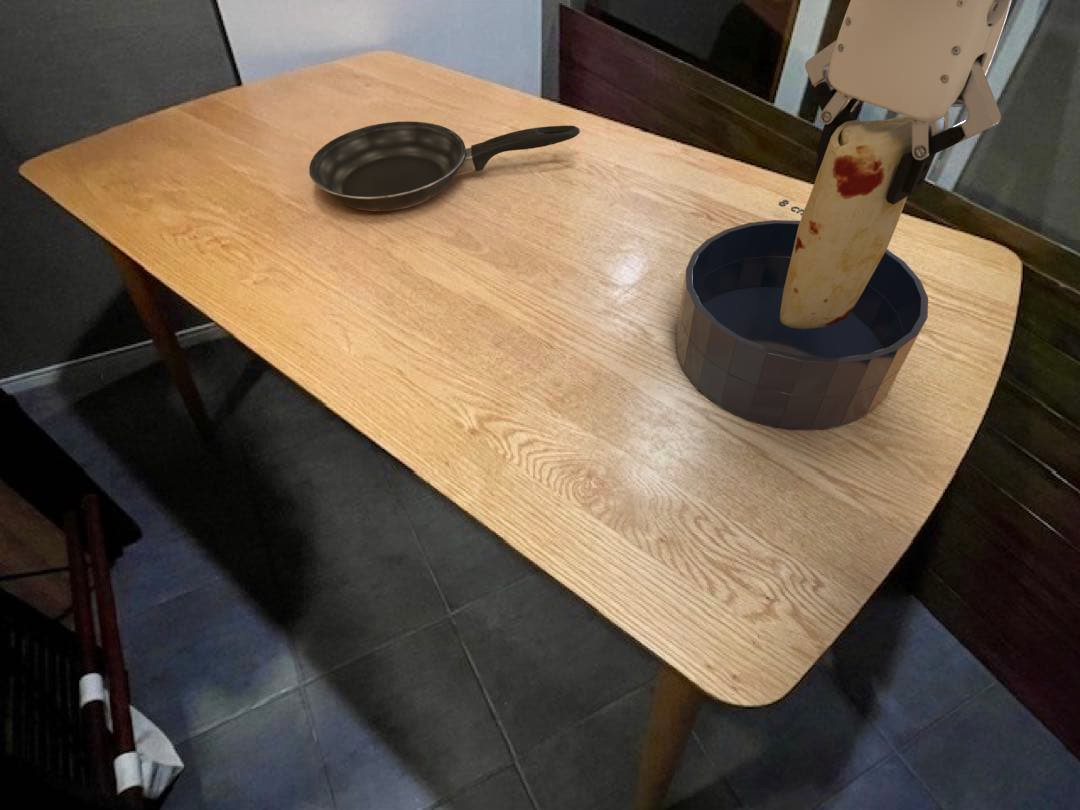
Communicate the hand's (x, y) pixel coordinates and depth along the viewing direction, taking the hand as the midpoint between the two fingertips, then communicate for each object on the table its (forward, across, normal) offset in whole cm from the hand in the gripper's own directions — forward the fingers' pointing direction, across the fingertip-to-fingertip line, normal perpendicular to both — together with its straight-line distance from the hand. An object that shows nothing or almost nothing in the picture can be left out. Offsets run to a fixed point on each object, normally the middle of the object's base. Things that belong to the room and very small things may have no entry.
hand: (863, 180), depth 54 cm
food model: (+15, 0, 0) cm, 15 cm away
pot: (+24, +4, -3) cm, 25 cm away
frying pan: (+24, +67, +7) cm, 71 cm away
